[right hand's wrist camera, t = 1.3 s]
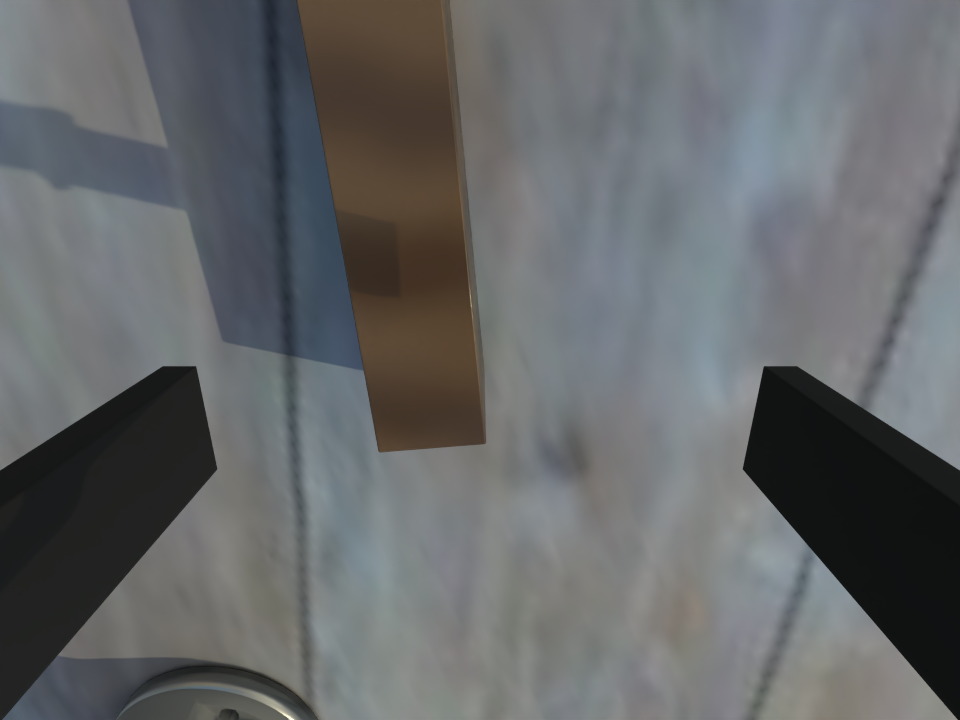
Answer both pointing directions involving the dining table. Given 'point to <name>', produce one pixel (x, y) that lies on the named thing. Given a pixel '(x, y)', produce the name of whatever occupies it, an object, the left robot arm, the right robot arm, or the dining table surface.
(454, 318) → the post
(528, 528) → the dining table surface
